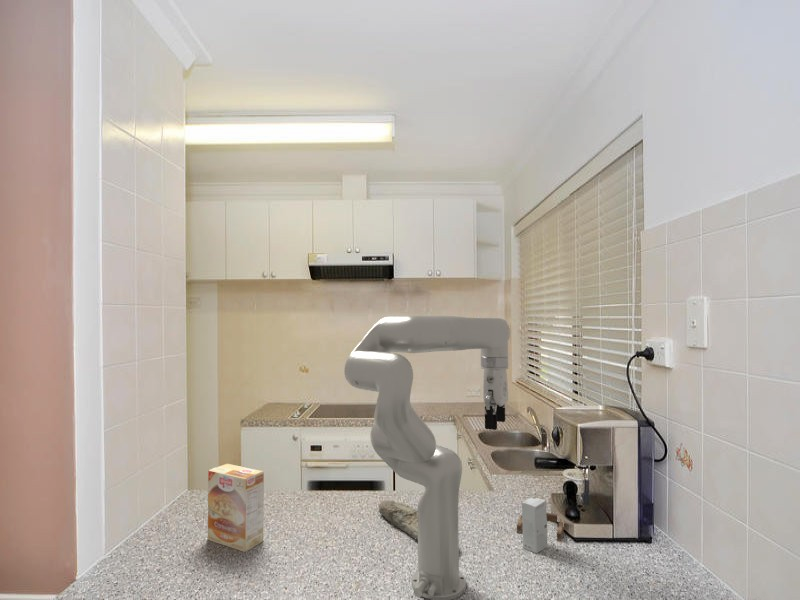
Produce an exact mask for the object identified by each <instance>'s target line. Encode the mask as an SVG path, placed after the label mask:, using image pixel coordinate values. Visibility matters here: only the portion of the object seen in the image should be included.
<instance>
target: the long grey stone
mask: <svg viewBox="0 0 800 600" xmlns="http://www.w3.org/2000/svg"><path fill="white" fill-rule="evenodd" d="M378 512H379V513H380V514H381V515H382V516H383V518H385V520H387V521H388V522H389V523H390V525H391V524H392V526H394V527H395V526H396V528H398V529H399V530H401V531H403V532H404V533H407V535H409V536H411V538H413V539H414V540H417V541H418V509H416V508H413V507H411V506H409V505H408V504H407V505H406V504H404V503H401V502H397V501H394V500H391V499H390V500H382V501H381V502H380V503H379V505H378Z"/></svg>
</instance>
